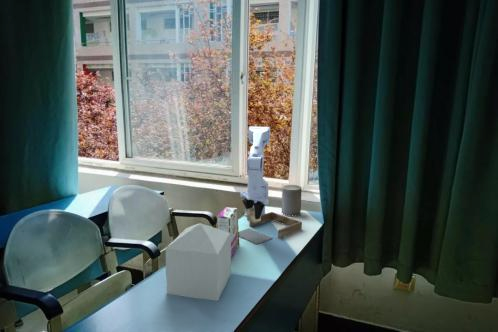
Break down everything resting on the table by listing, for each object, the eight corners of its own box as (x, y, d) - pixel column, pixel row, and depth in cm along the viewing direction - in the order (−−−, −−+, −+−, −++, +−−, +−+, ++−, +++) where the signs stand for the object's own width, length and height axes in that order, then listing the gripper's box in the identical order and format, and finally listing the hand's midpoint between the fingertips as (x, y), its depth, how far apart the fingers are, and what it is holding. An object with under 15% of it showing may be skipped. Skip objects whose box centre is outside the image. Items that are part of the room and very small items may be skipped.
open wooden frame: (249, 226, 158) (249, 219, 157) (271, 218, 168) (271, 211, 167) (279, 238, 145) (280, 230, 144) (301, 229, 155) (302, 221, 155)
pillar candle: (301, 211, 180) (302, 183, 177) (299, 217, 171) (300, 187, 168) (282, 209, 182) (283, 181, 179) (279, 215, 173) (280, 186, 170)
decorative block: (231, 273, 116) (231, 216, 112) (218, 301, 100) (218, 235, 96) (185, 268, 118) (184, 212, 115) (165, 294, 103) (163, 230, 99)
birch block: (247, 220, 145) (247, 209, 144) (253, 218, 148) (254, 207, 147) (253, 223, 143) (254, 211, 142) (260, 220, 145) (261, 209, 144)
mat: (233, 234, 148) (233, 233, 148) (248, 229, 154) (248, 228, 154) (257, 244, 138) (257, 243, 138) (272, 238, 145) (272, 237, 145)
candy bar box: (224, 246, 136) (225, 206, 133) (237, 248, 135) (237, 207, 132) (216, 259, 125) (216, 216, 122) (230, 261, 124) (230, 217, 121)
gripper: (235, 183, 145) (234, 214, 147) (260, 190, 134) (259, 224, 137) (247, 181, 149) (246, 211, 152) (272, 187, 139) (271, 220, 142)
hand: (253, 217), depth 145 cm, fingers closed on birch block, 4 cm apart
